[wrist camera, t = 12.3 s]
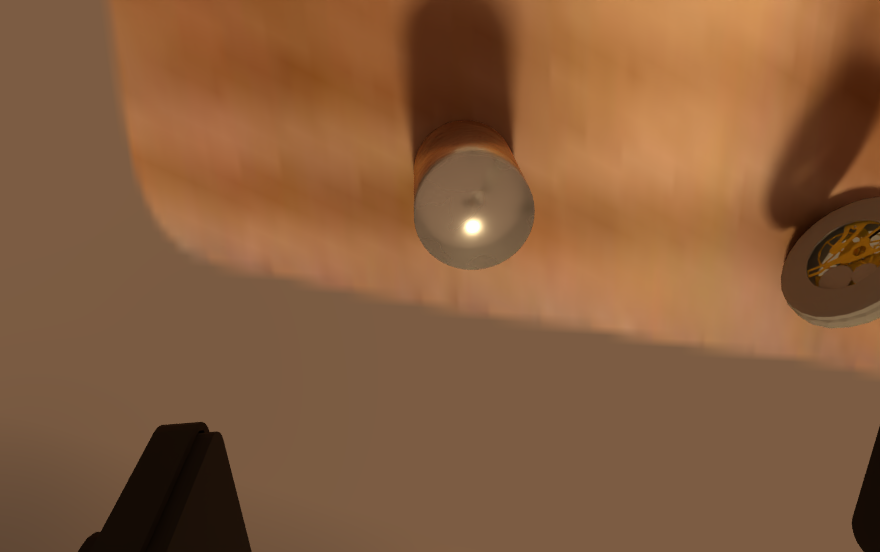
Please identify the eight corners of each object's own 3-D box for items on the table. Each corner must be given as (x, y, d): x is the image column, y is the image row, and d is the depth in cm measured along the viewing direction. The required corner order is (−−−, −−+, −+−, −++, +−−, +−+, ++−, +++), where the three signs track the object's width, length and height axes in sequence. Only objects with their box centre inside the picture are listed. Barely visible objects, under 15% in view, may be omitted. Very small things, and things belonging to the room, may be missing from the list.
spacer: (512, 115, 30) (533, 151, 25) (514, 212, 32) (535, 264, 27) (408, 125, 30) (407, 162, 25) (418, 220, 32) (419, 274, 27)
